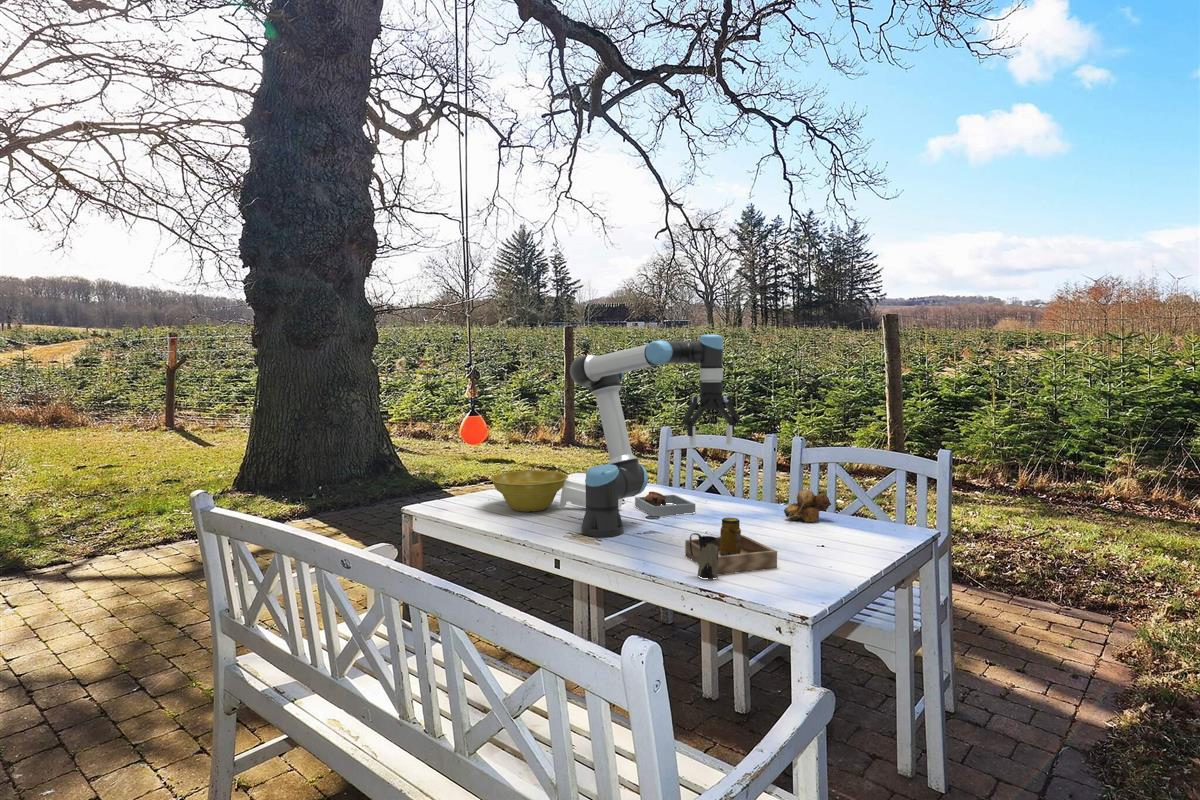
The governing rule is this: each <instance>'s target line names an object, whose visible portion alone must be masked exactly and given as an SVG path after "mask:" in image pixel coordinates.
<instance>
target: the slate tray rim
mask: <svg viewBox="0 0 1200 800" xmlns="http://www.w3.org/2000/svg"><path fill="white" fill-rule="evenodd" d="M664 496H665V497H666V499H665V501H666V503H674V504H676V505H666V506H663V505H660V506H653V505H651V504H649V503H647V502H645V497H646V496H639V497H638V496H637V497H636V496H634V507H635V506H636V507H638V508H639V509H638V508H637V509H638V510H640V509H641V510H643V511H645V512H647V513H648V514H647V513H646V514H647V515H649V514H650V515H652V516H663V517H665V516H664V515H675V516H677V515H676V514H684V513H693V512H695V513H696V503H694V502H693V501H690V500H688V499H686V498H684V497H681V496H679V495H676V494H666V495H665V494H664ZM636 507H635V508H636ZM641 510H640V511H641ZM643 511H642V512H643ZM645 512H644V513H645ZM650 515H649V516H650ZM652 516H651V517H652Z"/></svg>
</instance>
